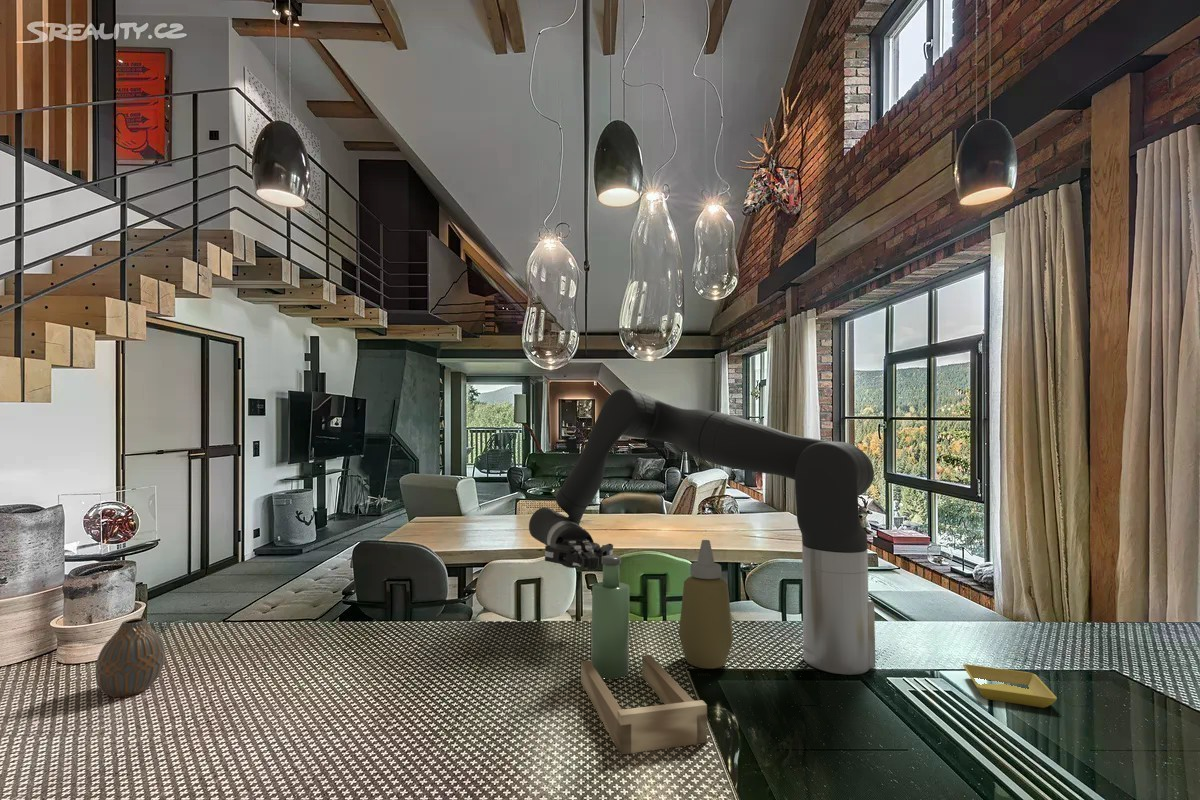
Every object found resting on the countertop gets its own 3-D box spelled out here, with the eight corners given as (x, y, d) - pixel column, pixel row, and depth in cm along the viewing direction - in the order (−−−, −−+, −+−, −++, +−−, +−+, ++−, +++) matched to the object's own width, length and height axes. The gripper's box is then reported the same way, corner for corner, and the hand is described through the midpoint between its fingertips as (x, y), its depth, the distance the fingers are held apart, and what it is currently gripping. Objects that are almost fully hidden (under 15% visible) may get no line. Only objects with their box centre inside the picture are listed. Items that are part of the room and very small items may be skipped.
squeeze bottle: (734, 675, 80) (733, 546, 81) (676, 670, 82) (677, 543, 83) (732, 654, 88) (732, 537, 89) (680, 650, 90) (680, 534, 91)
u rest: (650, 676, 79) (650, 647, 80) (706, 742, 62) (707, 704, 62) (580, 684, 77) (581, 653, 77) (620, 754, 60) (620, 715, 60)
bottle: (622, 662, 84) (623, 552, 85) (633, 677, 79) (635, 560, 80) (586, 666, 83) (588, 554, 84) (596, 681, 77) (598, 562, 79)
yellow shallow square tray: (977, 703, 73) (977, 686, 74) (962, 677, 81) (962, 662, 82) (1059, 716, 70) (1058, 699, 70) (1035, 688, 78) (1034, 672, 78)
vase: (175, 683, 75) (179, 616, 76) (116, 706, 69) (121, 632, 69) (140, 675, 77) (144, 610, 78) (80, 697, 71) (85, 625, 71)
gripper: (535, 523, 107) (552, 541, 90) (602, 522, 110) (631, 539, 93) (534, 564, 106) (551, 589, 90) (601, 561, 110) (630, 585, 93)
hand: (592, 563), depth 92 cm, fingers closed
